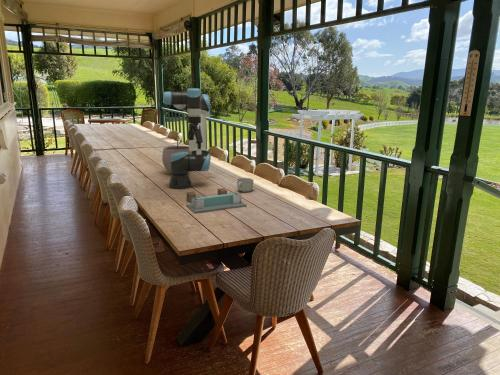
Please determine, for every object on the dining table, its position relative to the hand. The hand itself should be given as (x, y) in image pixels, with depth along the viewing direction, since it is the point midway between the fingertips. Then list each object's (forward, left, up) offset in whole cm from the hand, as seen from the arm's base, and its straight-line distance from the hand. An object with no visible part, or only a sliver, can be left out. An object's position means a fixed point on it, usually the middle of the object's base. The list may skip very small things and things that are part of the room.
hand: (195, 152), depth 229 cm
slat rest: (+2, +6, -29) cm, 29 cm away
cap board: (+18, +6, -29) cm, 34 cm away
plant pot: (-75, +10, -29) cm, 81 cm away
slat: (+18, +6, -28) cm, 34 cm away
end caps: (+18, +6, -29) cm, 34 cm away
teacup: (-5, +34, -29) cm, 45 cm away
